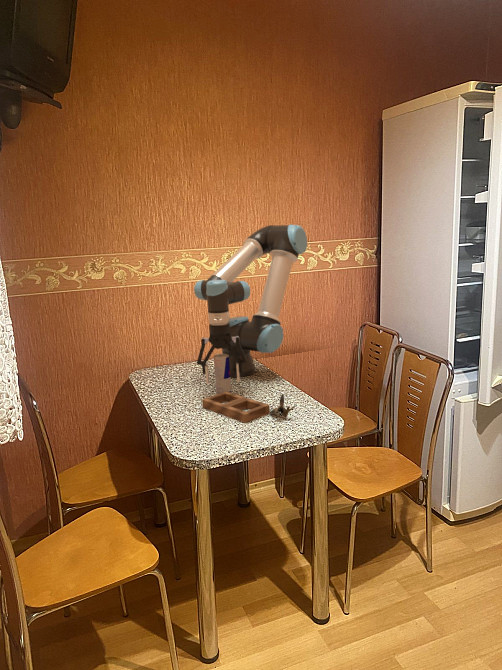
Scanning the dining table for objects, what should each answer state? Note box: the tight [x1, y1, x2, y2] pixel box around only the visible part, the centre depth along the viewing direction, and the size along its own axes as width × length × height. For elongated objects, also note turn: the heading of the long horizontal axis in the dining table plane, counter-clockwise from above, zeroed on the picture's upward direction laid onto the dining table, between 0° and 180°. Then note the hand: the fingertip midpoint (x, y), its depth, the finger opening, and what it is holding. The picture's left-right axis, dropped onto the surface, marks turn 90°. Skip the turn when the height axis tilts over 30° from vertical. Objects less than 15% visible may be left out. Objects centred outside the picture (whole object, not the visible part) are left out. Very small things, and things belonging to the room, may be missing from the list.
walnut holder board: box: [201, 392, 271, 424], centre depth 189 cm, size 22×11×3 cm, turn 43°
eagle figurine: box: [270, 393, 296, 421], centre depth 182 cm, size 8×7×9 cm
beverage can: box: [213, 353, 232, 395], centre depth 204 cm, size 6×6×15 cm
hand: (223, 381), depth 205 cm, fingers open, 11 cm apart
